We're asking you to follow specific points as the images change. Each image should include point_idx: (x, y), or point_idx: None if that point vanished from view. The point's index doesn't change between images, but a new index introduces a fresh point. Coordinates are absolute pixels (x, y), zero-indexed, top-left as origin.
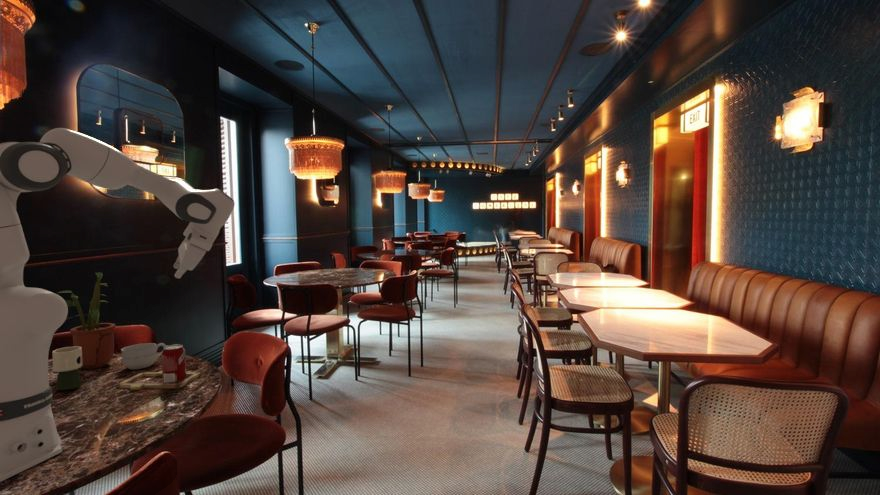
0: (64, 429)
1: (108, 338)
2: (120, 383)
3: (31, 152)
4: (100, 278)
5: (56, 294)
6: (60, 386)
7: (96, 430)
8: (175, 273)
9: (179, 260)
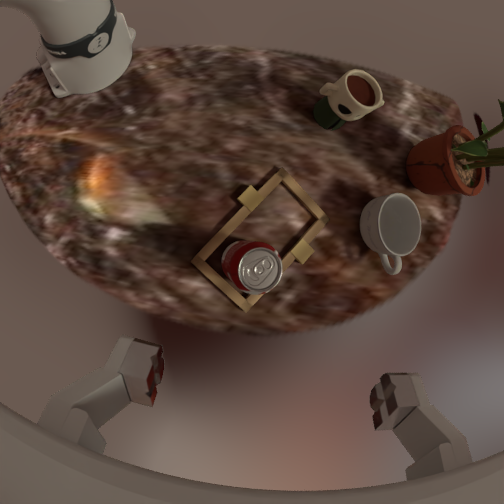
0: (131, 93)
1: (440, 180)
2: (285, 175)
3: None
4: None
5: None
6: (320, 100)
7: (91, 128)
8: (134, 353)
9: (421, 434)
